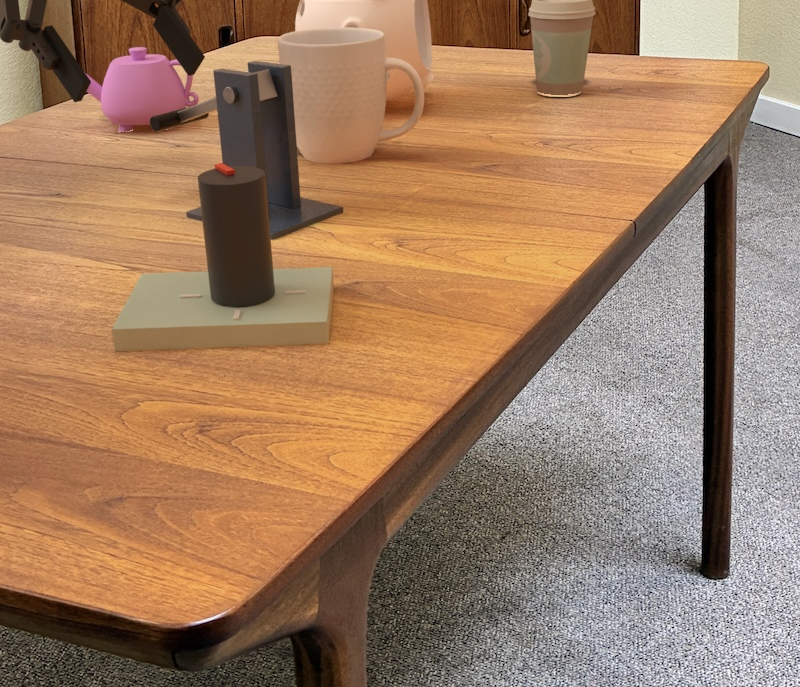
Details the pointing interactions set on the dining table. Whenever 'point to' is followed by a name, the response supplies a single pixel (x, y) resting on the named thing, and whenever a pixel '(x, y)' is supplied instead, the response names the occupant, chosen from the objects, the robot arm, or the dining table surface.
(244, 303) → the program knob
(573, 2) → the coffee cup
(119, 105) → the teapot
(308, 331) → the panel
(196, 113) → the lever
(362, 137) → the mug
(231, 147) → the bracket
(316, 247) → the dining table surface
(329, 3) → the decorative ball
